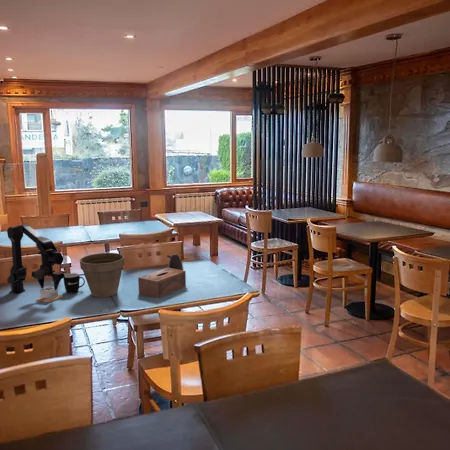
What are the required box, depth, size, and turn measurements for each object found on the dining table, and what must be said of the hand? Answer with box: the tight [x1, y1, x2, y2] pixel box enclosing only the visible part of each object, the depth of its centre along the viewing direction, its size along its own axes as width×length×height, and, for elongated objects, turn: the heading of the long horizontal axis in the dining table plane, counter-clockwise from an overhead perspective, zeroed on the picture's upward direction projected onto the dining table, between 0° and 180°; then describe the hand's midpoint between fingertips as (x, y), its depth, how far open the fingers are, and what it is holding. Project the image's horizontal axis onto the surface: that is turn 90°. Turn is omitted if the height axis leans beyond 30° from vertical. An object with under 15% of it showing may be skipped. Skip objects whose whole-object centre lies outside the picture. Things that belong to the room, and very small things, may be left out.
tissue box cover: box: [137, 267, 187, 299], centre depth 289 cm, size 26×14×10 cm, turn 146°
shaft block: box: [35, 288, 63, 304], centre depth 274 cm, size 10×10×6 cm
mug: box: [62, 272, 86, 294], centre depth 287 cm, size 12×9×10 cm
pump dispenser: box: [166, 253, 184, 271], centre depth 315 cm, size 10×10×15 cm
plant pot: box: [79, 252, 125, 298], centre depth 281 cm, size 25×25×22 cm
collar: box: [39, 286, 59, 300], centre depth 274 cm, size 7×7×5 cm
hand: (49, 289), depth 274 cm, fingers open, 9 cm apart
